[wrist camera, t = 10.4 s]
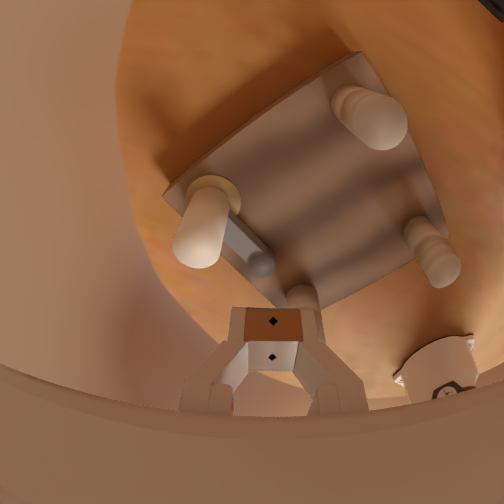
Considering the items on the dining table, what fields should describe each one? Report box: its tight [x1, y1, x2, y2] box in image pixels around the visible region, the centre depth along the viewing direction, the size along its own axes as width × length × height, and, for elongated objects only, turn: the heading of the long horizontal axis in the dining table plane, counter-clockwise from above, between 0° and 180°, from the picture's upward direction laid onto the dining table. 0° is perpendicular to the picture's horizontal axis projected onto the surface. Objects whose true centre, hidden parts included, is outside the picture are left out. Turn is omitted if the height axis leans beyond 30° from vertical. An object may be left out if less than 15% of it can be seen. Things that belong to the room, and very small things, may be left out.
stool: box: [161, 51, 462, 344], centre depth 26 cm, size 22×22×10 cm
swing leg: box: [172, 187, 275, 278], centre depth 25 cm, size 10×4×7 cm, turn 40°
